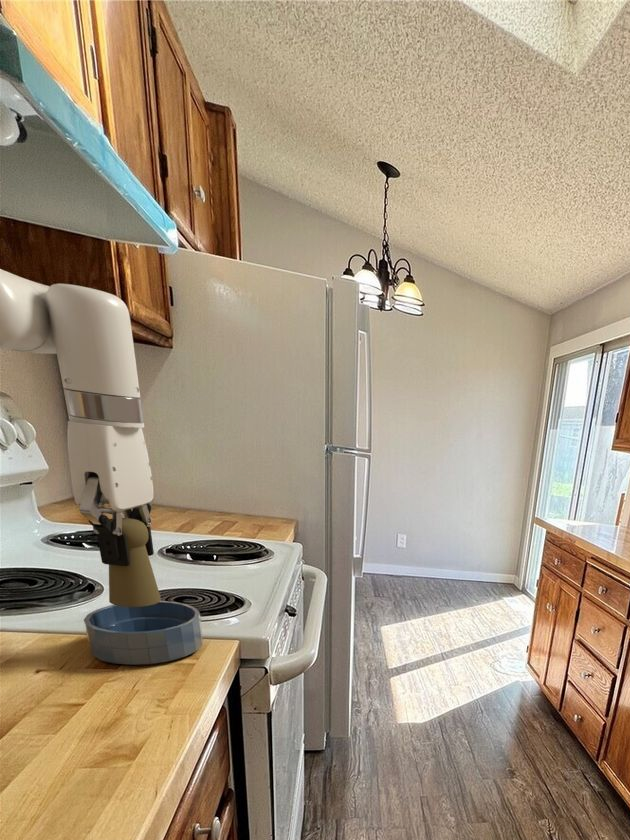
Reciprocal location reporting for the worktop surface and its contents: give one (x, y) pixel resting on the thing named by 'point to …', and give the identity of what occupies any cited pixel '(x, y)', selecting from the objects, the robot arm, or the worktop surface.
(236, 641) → the worktop surface
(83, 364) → the robot arm
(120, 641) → the bowl
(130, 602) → the olive pawn
